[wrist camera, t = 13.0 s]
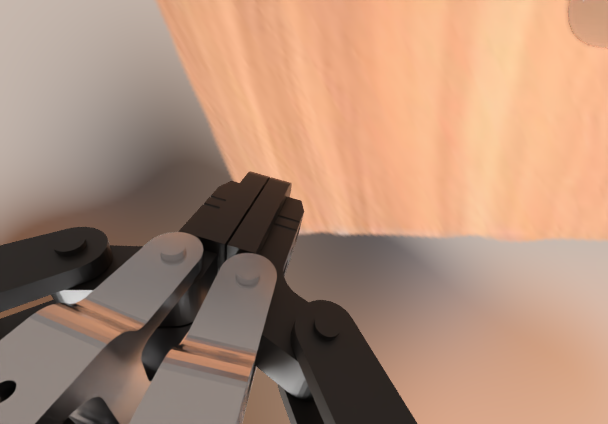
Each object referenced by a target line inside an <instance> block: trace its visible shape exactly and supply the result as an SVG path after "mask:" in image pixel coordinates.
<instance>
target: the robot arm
mask: <svg viewBox="0 0 608 424" xmlns="http://www.w3.org/2000/svg"><path fill="white" fill-rule="evenodd" d="M568 17H569V24H570V27H571V29H572V31H573V33H574V34H575V35H576V37H577V38H578V39H579V40H580V41H582V42H584V43H586V44H588V45H591V46H595V47H600V48H607V49H608V0H570V1H569V8H568ZM290 191H291V183H289V182H286V181H282V180H279V179H275V178H270V177H268V176H264V175H261V174H257V173H254V172H248V174H247V175H246V176H245V177H244V179H243V180H242V181H241V182H240V183H237V182H234V181H230V182H228V183H226V184H224V185H222V186H220V187H218V188H217V190H216V191H215V192H214V193H213V194H212V195H211V197H209V198H208V200H207V201H206V202H205V204H204V205H202V206H201V207H200V208H199V209H198V211H197V212H196V213H195V214H194V215H193V216H192V217H191V218H190V219H189V220H188V222H187V223H186V224H185V225H184V226H183V227H182V228H181V229H180V231H179V232H170V233H165V234H162V235H159V236H157V237H155V238H154V239H152V240H151V241H149V242H148V243H147V244H146V245H145V246H139V247H138V246H111V245H109V242H108V239H107V236H106V235H105V234H104V233H103V232H102V231H100V230H98V229H95V228H90V227H76V228H70V229H65V230H61V231H57V232H53V233H49V234H45V235H41V236H37V237H33V238H29V239H24V240H20V241H16V242H12V243H9V244H4V245H1V246H0V312H2V311H5V310H8V309H11V308H14V307H17V306H20V305H22V304H25V303H28V302H31V301H34V300H37V299H40V298H43V297H45V296H48V295H51V296H52V297H53V299H54V300H52V301H49V302H46V303H43V304H40V305H38V306H35V307H32V308H29V309H26V310H24V311H21V312H18V313H16V314H13V315H10V316H7V317H4V318H1V319H0V424H242V422H243V418H244V414H245V409H246V405H247V401H248V398H249V394H250V390H251V387H252V383H253V379H254V375H255V371H256V367H258V368H259V369H260V370H262V371H263V372H264V373H265V374H266V375H268V376H269V377H270V378H271V379H273V380H274V381H275V382H276V383H277V384H278V388H279V392H280V394H281V397H282V400H283V403H284V406H285V408H286V411H287V414H288V417H289V420H290V423H291V424H417V422H416V421H415V419H414V417H413V416H412V414H411V413H410V411H409V409H408V408H407V406H406V405H405V403H404V401H403V400H402V398H401V397H400V395H399V393H398V392H397V390H396V388H395V387H394V385H393V384H392V382H391V380H390V379H389V377H388V376H387V374H386V372H385V371H384V369H383V367H382V366H381V364H380V363H379V361H378V359H377V358H376V356H375V355H374V353H373V351H372V350H371V348H370V347H369V345H368V343H367V342H366V340H365V339H364V337H363V335H362V334H361V332H360V331H359V329H358V327H357V325H356V324H355V322H354V321H353V319H352V318H351V316H350V315H349V313H348V312H347V311H346V310H345V309H343V308H342V307H341V306H339V305H337V304H335V303H333V302H330V301H326V300H316V301H312V302H307V301H306V300H304V299H303V298H301V297H300V296H298V295H297V294H296V293H294V292H293V291H292V290H291V289H290V287H289V286H288V285H287V283H286V281H285V278H284V276H285V273H286V270H287V268H288V265H289V262H290V259H291V256H292V253H293V250H294V247H295V245H296V241H297V238H298V234H299V229H300V225H301V221H302V217H303V213H304V209H303V205H302V201H300V200H297V199H293V198H290V197H289V196H290Z"/></svg>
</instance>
